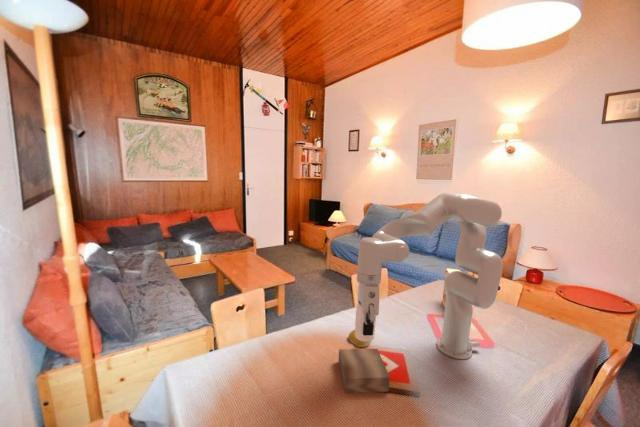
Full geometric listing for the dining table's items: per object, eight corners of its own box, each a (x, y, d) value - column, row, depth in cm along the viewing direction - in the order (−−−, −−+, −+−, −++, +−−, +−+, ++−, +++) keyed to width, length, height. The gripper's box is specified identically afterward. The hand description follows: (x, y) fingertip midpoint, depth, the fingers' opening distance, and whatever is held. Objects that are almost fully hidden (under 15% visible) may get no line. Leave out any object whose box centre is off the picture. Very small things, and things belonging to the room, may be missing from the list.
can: (375, 333, 94) (378, 300, 92) (372, 344, 88) (375, 309, 86) (356, 329, 96) (358, 296, 94) (352, 339, 90) (354, 305, 88)
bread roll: (362, 351, 108) (362, 341, 107) (345, 339, 115) (345, 330, 114) (375, 342, 113) (376, 333, 113) (358, 332, 120) (359, 324, 119)
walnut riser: (376, 361, 102) (377, 348, 101) (388, 391, 88) (389, 377, 88) (338, 361, 101) (339, 349, 100) (344, 392, 87) (345, 378, 86)
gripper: (389, 288, 81) (384, 344, 84) (373, 267, 98) (369, 314, 101) (363, 288, 80) (359, 345, 83) (352, 266, 97) (348, 314, 100)
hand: (365, 327), depth 92 cm, fingers closed on can, 6 cm apart
